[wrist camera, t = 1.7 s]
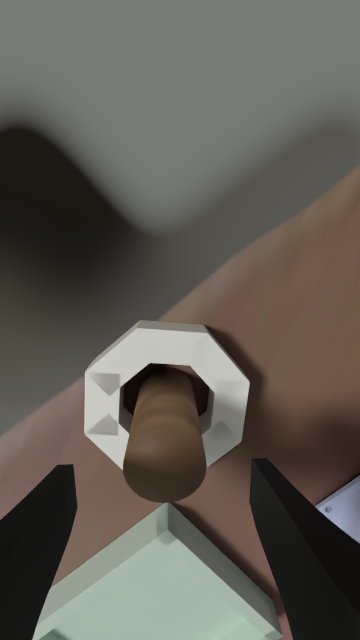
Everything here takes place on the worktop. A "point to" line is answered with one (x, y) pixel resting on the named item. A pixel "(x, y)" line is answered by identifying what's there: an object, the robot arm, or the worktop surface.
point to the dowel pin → (165, 439)
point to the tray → (158, 590)
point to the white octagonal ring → (165, 348)
